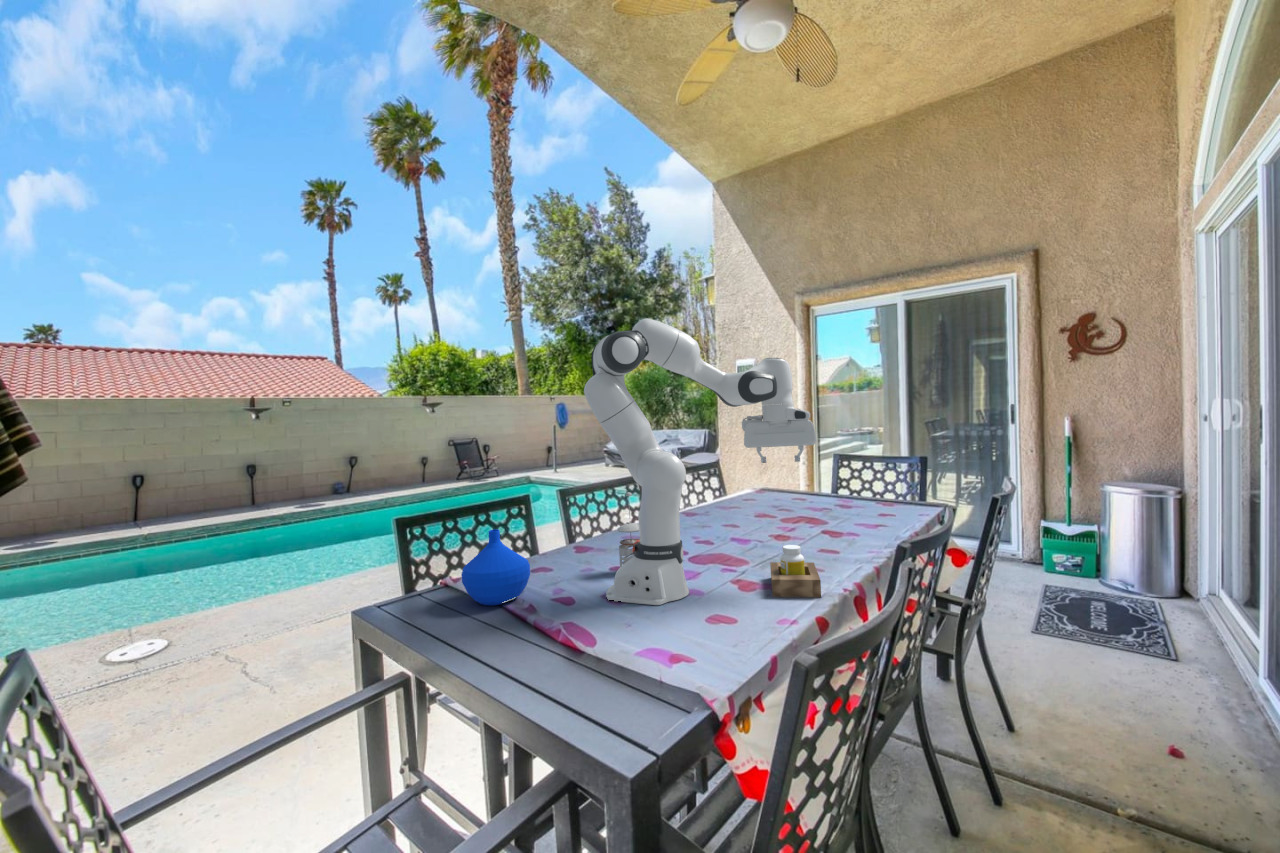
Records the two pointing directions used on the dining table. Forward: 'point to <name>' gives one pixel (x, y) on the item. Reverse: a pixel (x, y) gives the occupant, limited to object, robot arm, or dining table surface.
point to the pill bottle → (792, 561)
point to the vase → (495, 573)
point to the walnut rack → (795, 582)
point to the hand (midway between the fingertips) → (780, 462)
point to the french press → (627, 542)
